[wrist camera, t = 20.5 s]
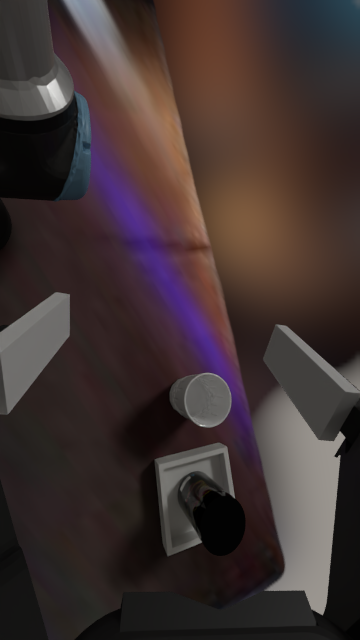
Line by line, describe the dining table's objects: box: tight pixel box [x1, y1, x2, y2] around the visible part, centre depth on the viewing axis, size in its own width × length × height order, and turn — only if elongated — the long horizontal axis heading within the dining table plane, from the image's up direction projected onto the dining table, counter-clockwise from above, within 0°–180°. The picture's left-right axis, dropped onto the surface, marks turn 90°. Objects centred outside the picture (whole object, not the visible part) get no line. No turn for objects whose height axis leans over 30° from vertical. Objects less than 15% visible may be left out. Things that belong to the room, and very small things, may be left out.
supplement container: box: [178, 471, 245, 556], centre depth 37 cm, size 7×7×10 cm
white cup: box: [169, 373, 231, 427], centre depth 41 cm, size 8×8×10 cm
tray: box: [154, 443, 235, 556], centre depth 41 cm, size 13×13×3 cm
